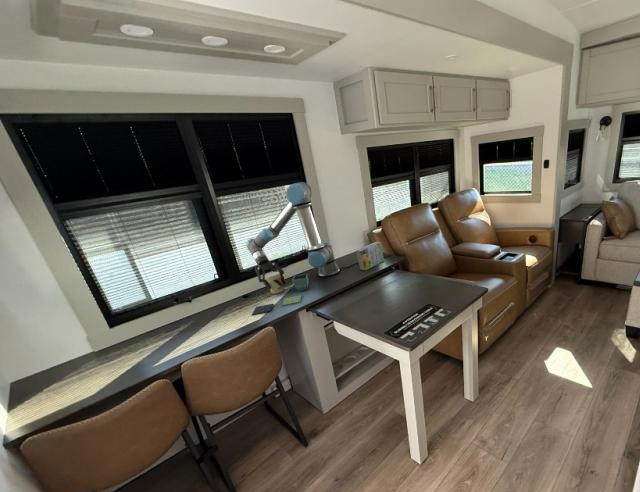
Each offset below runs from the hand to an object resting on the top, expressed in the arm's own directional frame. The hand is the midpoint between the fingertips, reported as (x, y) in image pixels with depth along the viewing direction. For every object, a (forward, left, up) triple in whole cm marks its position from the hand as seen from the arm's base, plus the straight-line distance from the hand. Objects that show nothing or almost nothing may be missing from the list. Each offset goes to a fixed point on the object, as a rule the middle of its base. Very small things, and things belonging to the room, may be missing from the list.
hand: (277, 286), depth 201 cm
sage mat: (-10, +16, -6) cm, 20 cm away
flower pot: (-15, 0, -6) cm, 16 cm away
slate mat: (+6, +21, -6) cm, 23 cm away
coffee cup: (+2, -3, -4) cm, 6 cm away
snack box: (-63, -23, -6) cm, 67 cm away
